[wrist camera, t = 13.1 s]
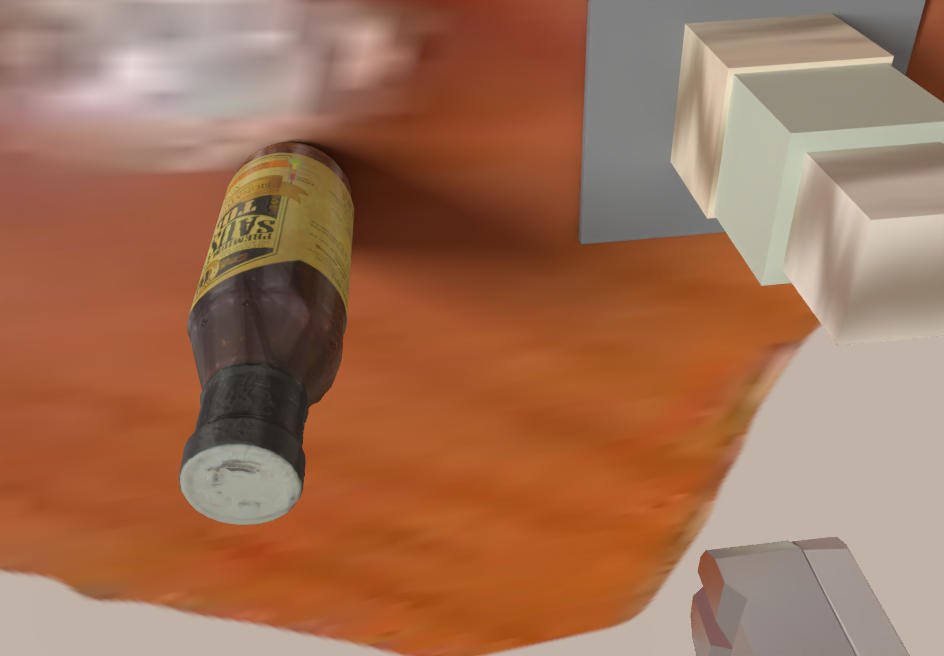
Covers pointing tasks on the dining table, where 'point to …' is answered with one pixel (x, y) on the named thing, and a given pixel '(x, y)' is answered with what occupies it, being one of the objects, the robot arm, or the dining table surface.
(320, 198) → the sauce bottle
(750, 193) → the sage block
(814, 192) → the cream cube
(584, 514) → the dining table surface
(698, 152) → the birch block
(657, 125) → the slate mat
